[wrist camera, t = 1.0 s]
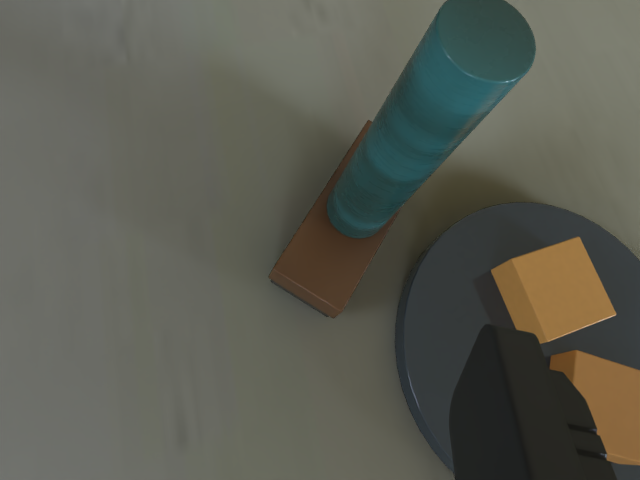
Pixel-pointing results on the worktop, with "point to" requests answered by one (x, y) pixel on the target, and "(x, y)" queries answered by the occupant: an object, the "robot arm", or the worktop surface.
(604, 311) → the block
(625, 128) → the worktop surface
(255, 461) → the worktop surface
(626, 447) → the crust
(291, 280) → the peg on stand
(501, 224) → the turntable plate
